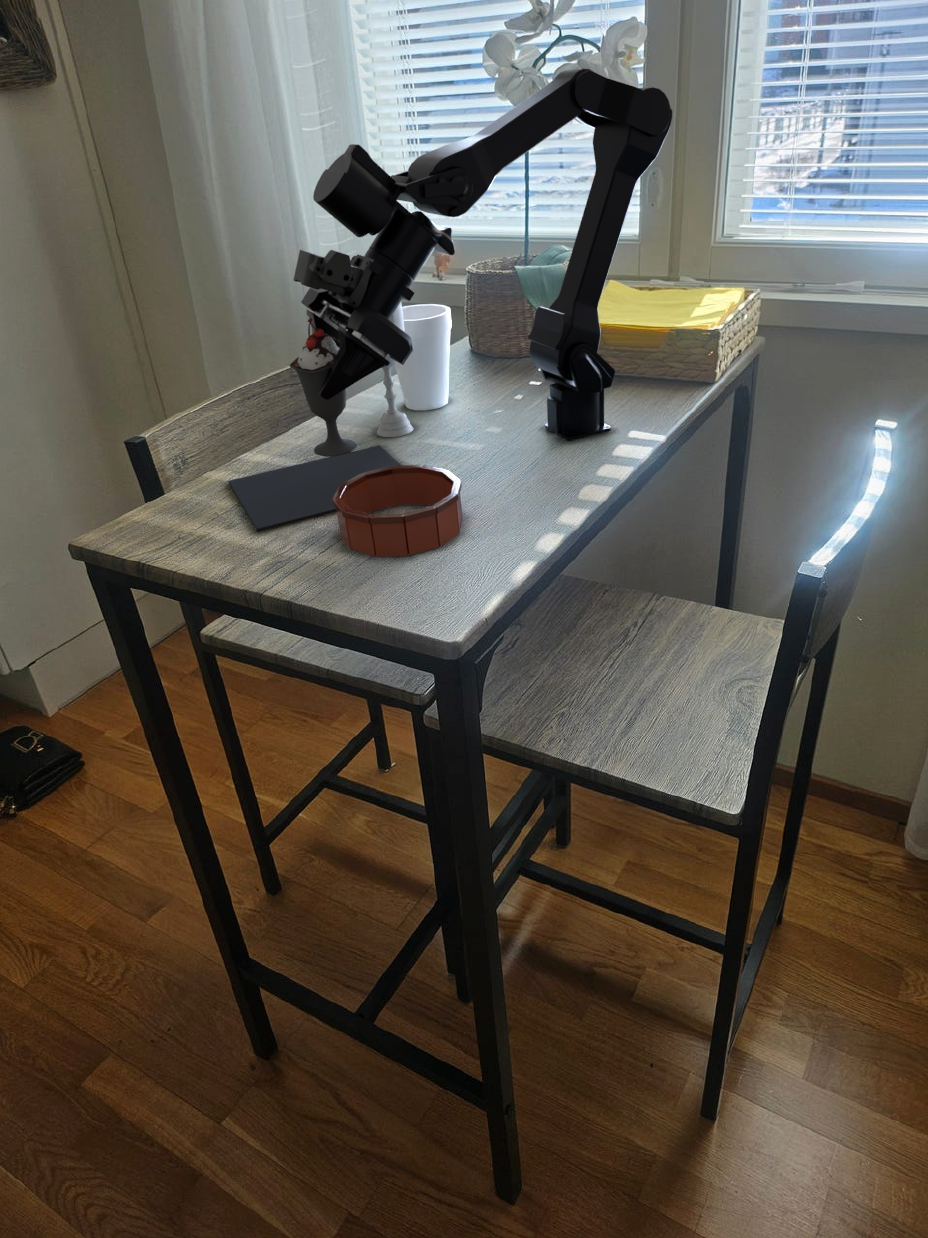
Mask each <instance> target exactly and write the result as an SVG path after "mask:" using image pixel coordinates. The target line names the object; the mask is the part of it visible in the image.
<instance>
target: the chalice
mask: <svg viewBox="0 0 928 1238" xmlns="http://www.w3.org/2000/svg"><path fill="white" fill-rule="evenodd" d="M402 307H403V305H402V301H401V302H400V304H399V305H398V307H397V309H396V310H395V312H394V313H393V315H392V317H391V318H390V321H391V322H392V323H394V324H395V325H396V326H397V327H399V328H400V329H401V330H403V331H405V329H404V321H403V312H402ZM385 359H386V360H388V361H389V362H390V365H388V366H383V367H381V368H380V369H382V371H383V382H382V384H383V385H384V388H385V389H386V390H385V394H384V395H383V398H384V399H385V400H386V402H387V404H388V405H387V406H388V407H387V410H386V412H384V413H383V414H382V415H381V417H380V418H379V422H378V428H377V431H376V434H377V435H378V436H379V437H384V438H398V437H403V436H406V435H408V434H410V433H412V432H413V430H414V427H413V426H412V424H411V423H410V422H411V421H410V420H409V418H408V416H407V415H406V413H405V412H403V411H401V410H399V409H398V408H397V407H396V397H398V395H397V393H395V391H394V384H395V380H394V378H393V376H392V374H391V373H392V367H395V364H396V363H397V362H396V361H394V360H392V359H391V358H390V357H389V354H388V355H387V356H386V358H385Z"/></svg>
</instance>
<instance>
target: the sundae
mask: <svg viewBox="0 0 928 1238" xmlns="http://www.w3.org/2000/svg"><path fill="white" fill-rule="evenodd" d="M311 321H312V318H311V317H310V319H309V318H308V319H307V322H308V327H307V335H308V337H307V338H306V340H305V342H304V344H303V346H302V350H301V352H300V354H299V356H298V357H296V358H295V359H294V360H292V362H290V364H288V366H289V367H290V368H292V369H294V370H295V371H296V374H297V376H298V378H299V381H300V384H301V388H302V390H303V393H304V396H305V401H306V402H307V405H308V406H309V410H310V412H311V413H312V414H314V415H315V416H316V417H318V418H320V419H322V420H323V421H324V422H325V426H326V438H325V439H326V440H325V441H323V442H320V443H319V444H316V446H315V447H314V449H313V452H314V454H316V455H317V456H320V457H324V458H327V457H333V456H340V455H344V454H347V453H349V452H353V451H355V450H356V448H358V443H357V442H356V441H355V440H353V439H349V438H342V436H341V435H340V432H339V429H338V425H337V419H338V418H339V417H340V416H341V415H342V413H343V412H344V410H345V408H346V407H347V388H346V389H345V390H343V391H341V392H340V393H338V394H337V395H335V396H334V397H332V398H331V399H329V400H326V399H324V398H323V397H321V396H320V395H319V393H320V390H321V388H322V385H323V383H324V381H325V378H326V376H327V374H328V372H329V370H330V368H331V366H332V364H333V361H334V359H335V357H336V355H337V353H338V351H339V348H340V342H339V340H336V339H335V338H333V337H331V336H329V335H327V334H325V333H324V331H323V330H322V329H316V328H315V327H314V326H313V325H312V322H311ZM311 325H312V327H313V328H314V329H315V331H314V333H313V334H312V333H311V328H312V327H311Z"/></svg>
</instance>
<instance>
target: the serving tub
mask: <svg viewBox="0 0 928 1238" xmlns="http://www.w3.org/2000/svg"><path fill="white" fill-rule="evenodd" d="M401 465H402V464H401ZM462 487H463V486H462V480H461V479H460V478H459V477H457V476H456V475H455V474H454V473H452V472H451V471H450V470H448V469H446V468H440V467H436V466H431V465H425V464H407V465H406V464H404V465H402V466H392V467H391V466H389V467H385V468H381V469H377V470H373V471H369V472H365V473H362V474H359V475H357V476H355V477H354V478H352V479H350V480H348V481H346V482H345V483H343V484H341V485H340V486H339V488H338V489H337V491H336V493H335V495H334V497H333V505H334V506H335V508H336V511H337V512H336V516H337V521H338V527H339V528H338V529H339V533H340V538H341V539H342V541H343V542H344V543H345V544H346V546H347V547H348V548H349V549H350V550H351V551H354V552H358V553H362V554H365V555H368V556H371V557H379V558H380V557H383V558H384V557H408V556H413V555H417V554H420V553H424V552H427V551H432V550H435V549H439V548H440V547H442V546H444V545H445V544H447V543H448V542H449V541H451V540H453V538H456V537H457V536H458V535H459V534H460V533H461V528H462V526H463V525H462V524H463V520H464V518H463V507H462V498H461V497H462V496H461V491H462ZM421 505H425V506H426V507H422V508H418V509H414V510H411V511H407V512H403V513H374V514H372V513H373V512H377V511H381V510H385V509H389V508H392V507H395V506H421Z"/></svg>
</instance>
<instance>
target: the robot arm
mask: <svg viewBox="0 0 928 1238" xmlns="http://www.w3.org/2000/svg"><path fill="white" fill-rule="evenodd" d="M673 113H674V112H673V108H671V103H670V101H669V98H668V96H667V95H666V93H665V92H664V91H663V90H662V89H660V88H657V87H654V86H651V87H650V86H649V87H637V86H634V85H631V84H628V83H624V82H622V81H617V80H614V79H611V78H608V77H606V76H603V75H602V74H599V73H597V72H595V71H594V70H592V69H590V68H574V69H565V70H563V71H560V72H559V73H558V74H556V76H555V77H554V78H553V80H551V81H550V82H549V83H547V84H545V85H544V86H543V87H542V88H540V89H539V90H537V91H535V92H534V93H532V94H531V95H530V96H528V97H526V99H524V100H522V101H521V102H519V103H518V104H516V106H514V107H513V108H511V109H509V110H508V111H506V112H505V113H504V114H502V115H501V116H499V117H498V118H497V119H495V120H494V121H492V122H491V123H489V124H488V125H487V126H485V127H484V128H482V129H481V130H479V131H478V132H477V133H475V134H473V135H471V136H468V137H467V138H464V139H461V140H458V141H453V142H451V143H447V144H445V145H442V146H440V147H438V148H436V149H432V150H431V151H429V152H426V153H424V154H422V155H420V156H417V157H416V159H414V160H413V162H411V164H410V165H409V166H408V169H407V170H405V171H402V172H399V173H396V174H392V175H390V174H389V173H388V172H387V171H385V170H384V169H383V168H382V167H381V166H380V165H379V164H378V163H377V162H375V161H374V159H373V158H372V157H371V155H370V154H369V153H368V151H366V150H365V148H363V147H362V146H361V145H360V144H357V143H356V144H354V143H352V144H351V143H350V144H349V145H348V146H347V148H346V150H345V151H344V152H343V153H342V154H341V155H339V156H338V157H337V158H336V159H335V160H334V161H333V162H332V163H331V165H330V166H329V167H328V168H325V170H323V172H322V174H320V177H319V179H318V180H317V183H316V185H315V188H314V191H313V196H312V197H313V198H312V199H313V201H314V202H315V203H316V204H317V205H318V206H320V207H321V208H322V209H323V210H325V211H326V212H327V213H328V214H329V215H330V216H332V218H334V219H335V220H336V221H338V222H339V223H340V224H341V225H342V226H344V227H345V228H346V230H348V231H349V232H351V233H352V234H353V235H354V236H356V238H363V237H365V236H367V235H368V234H369V235H370V236H372V237H373V236H375V238H374V239H373V240H372V243H370V245H369V247H368V249H367V251H366V252H365V254H364V255H362V254H358V253H357V254H356V255H353V256H352V257H350V255H349V254H345V253H343V252H339V251H337V250H334V249H329V250H328V252H327V253H326V255H325V256H322V255H319V254H316V253H312V252H309V251H306V250H303V249H299V251H298V256H297V261H296V267H295V270H294V275H293V282H298V283H300V284H301V285H302V286H305V287H307V288H308V290H307V291H306V293H305V295H304V296H303V298H302V299H301V300H300V304H302V305H304V307H306V308H307V309H306V316H307V317H308V320H309V319H310V317H311V318H312V321H311V322H312V325H313V326H314V327H315V328H316V329H322V330H323V331H324V333H325V334H327V335H329V336H331V337H333V338H335V339H336V340H339V342H340V348H339V351H338V353H337V355H336V357H335V359H334V361H333V364H332V366H331V368H330V370H329V372H328V374H327V376H326V378H325V381H324V383H323V385H322V388H321V390H320V393H319V395H320V396H321V397H323V398H324V399H326V400H329V399H331V398H332V397H334V396H335V395H337V394H338V393H340V392H341V391H343V390H345V389H346V390H347V389H348V388H349V387H351V386H352V385H354V384H356V383H358V382H359V381H361V380H362V379H364V378H366V377H368V376H369V375H371V374H374V372H376V371H378V370H379V369H382V368H381V367H383V366H388V365H390V362H389V361H388V360H386V359H385V358H386V356H387V355H388V354H389V357H390V358H391V359H392V360H394V361H396V362H398V363H400V364H401V365H404V363H405V362H406V360H407V359H408V357H409V355H410V354H411V352H412V351H413V347H412V339H411V337H410V336H409V335H408V334H406V333H405V332H404V331H403V330H401V329H400V328H399V327H397V326H396V325H395V324H394V323H392V322H391V321H390V318H391V317H392V315H393V313H394V312H395V310H396V309H397V307H398V305H399V304H400V302H401V303H402V301H403V300H405V301H408V302H410V301H411V300H412V298H413V297H414V296H415V292H414V291H413V290H412V289H410V288H411V286H412V285H413V283H414V282H415V280H416V278H417V277H418V276H419V274H420V273H421V271H422V269H423V267H424V266H425V265H426V263H427V262H428V260H429V258H430V256H431V255H432V254H433V252H434V250H435V251H436V252H437V253H440V254H444V255H445V254H446V255H447V256H448V255H449V256H454V255H455V253H456V248H455V244H454V243H455V242H454V240H453V228H452V227H451V226H446V225H439V226H438V225H437V224H435V223H434V222H433V221H432V220H431V219H430V218H429V217H428V216H427V215H426V214H432V215H438V216H442V217H447V218H448V217H449V218H458V217H460V216H462V215H464V214H466V213H467V212H469V211H470V209H472V208H473V207H474V205H476V204H477V202H479V201H480V199H481V198H483V197H484V196H485V194H486V193H487V192H488V191H489V190H490V188H491V186H492V184H493V182H494V181H495V179H496V177H497V176H498V175H499V174H500V173H501V172H502V171H503V170H504V169H505V168H506V167H508V166H509V165H511V164H512V163H513V162H515V161H517V160H518V159H519V158H521V157H523V156H524V155H525V154H527V153H528V152H529V151H531V150H532V149H534V148H535V147H537V146H538V145H539V144H540V143H542V142H543V141H545V140H546V139H548V138H549V137H550V136H552V135H553V134H555V133H556V132H558V131H559V130H560V129H562V128H563V127H565V126H566V125H568V124H569V123H570V122H572V121H573V120H574V119H575V120H577V121H578V122H580V123H581V124H583V125H585V126H588V127H590V128H593V129H594V131H593V137H592V147H593V156H594V163H595V172H594V176H593V179H592V183H591V185H590V190H589V193H588V196H587V199H586V204H585V206H584V210H583V213H582V217H581V220H580V224H579V227H578V230H577V233H576V237H575V240H574V244H573V247H572V250H571V254H570V256H569V261H568V264H567V268H566V269H565V270H566V271H565V274H564V276H563V277H564V278H563V280H562V283H561V287H560V291H559V293H558V296H557V298H556V299H555V300H554V301H553V302H552V303H551V305H549V307H548V308H547V307H544V306H538V307H537V308H536V311H535V314H534V320H533V325H532V328H531V330H530V333H529V334H528V335H527V337H526V339H527V340H528V341H530V342H529V349H528V351H529V356H530V357H531V360H532V363H533V364H534V365H535V367H537V368H538V369H539V370H540V372H541V375H542V378H543V380H545V381H550V382H551V384H549V396H548V397H547V399H546V412H547V414H546V415H547V417H546V418H547V423H544V428H545V429H546V430H547V431H550V432H551V433H553V434H555V435H556V436H558V437H559V438H562V439H563V440H565V441H567V442H572V441H576V440H580V439H584V438H588V437H592V436H596V435H600V434H604V433H607V432H610V431H611V430H612V426H610V425H608V424H607V423H605V389H609V388H611V387H612V384H613V381H614V377H615V374H616V370H615V368H614V367H613V366H612V365H610V363H609V362H608V361H607V360H605V359H604V357H602V356H601V355H600V354H599V347H600V342H601V336H602V331H601V325H600V317H599V316H600V315H599V303H600V301H601V298H602V294H603V291H604V287H605V285H606V282H607V278H608V275H609V272H610V268H611V265H612V262H613V259H614V256H615V253H616V250H617V246H618V242H619V239H620V236H621V233H622V230H623V227H624V223H625V221H626V217H627V214H628V211H629V207H630V204H631V201H632V198H633V195H634V191H635V189H636V185H637V183H638V181H639V179H640V178H641V177H642V176H643V174H645V172H646V171H647V170H648V168H650V166H651V165H652V163H653V162H654V161H655V160H656V158H658V156H659V153H660V151H661V149H662V147H663V145H664V143H665V140H666V138H667V136H668V134H669V131H670V130H671V126H672V121H673V116H674V115H673ZM399 201H402V202H407V203H412V204H413V206H414V207H416V208H417V209H418V210H416V211H412V212H411V211H409V210H408V209H407V208H406V207H405V206H403V205H402V203H400V202H399ZM425 213H426V214H425ZM312 325H311V324H310V328H311V335H312V334H313V333H314V331H315V329H314V328H313V327H312Z"/></svg>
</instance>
